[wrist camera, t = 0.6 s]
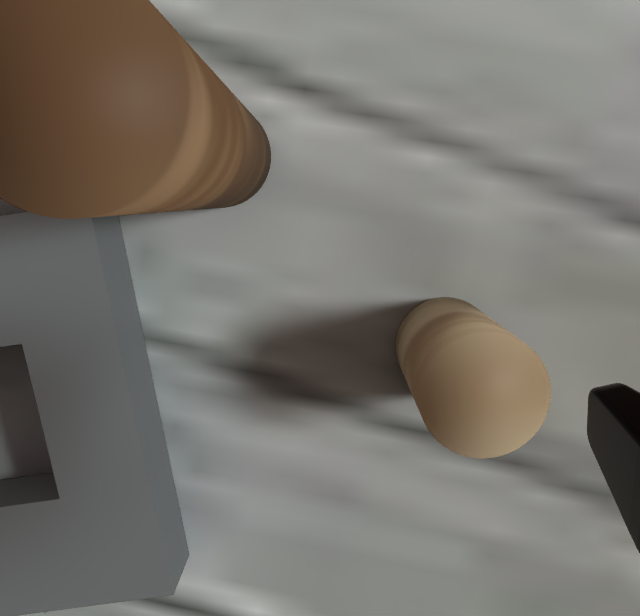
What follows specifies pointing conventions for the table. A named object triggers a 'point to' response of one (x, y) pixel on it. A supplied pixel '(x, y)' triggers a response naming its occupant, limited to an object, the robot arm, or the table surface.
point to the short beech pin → (471, 378)
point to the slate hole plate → (84, 426)
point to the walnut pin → (116, 115)
